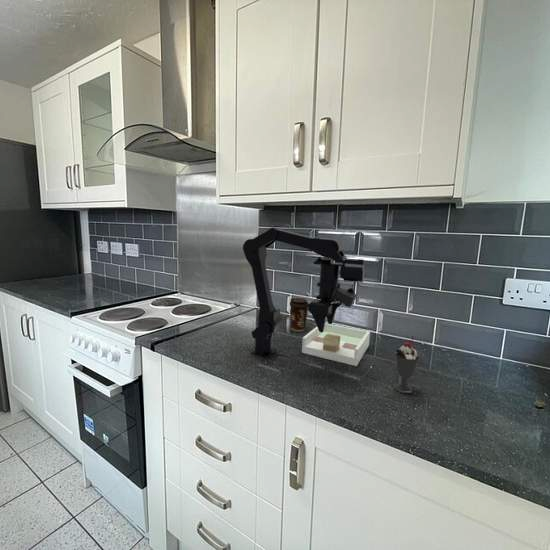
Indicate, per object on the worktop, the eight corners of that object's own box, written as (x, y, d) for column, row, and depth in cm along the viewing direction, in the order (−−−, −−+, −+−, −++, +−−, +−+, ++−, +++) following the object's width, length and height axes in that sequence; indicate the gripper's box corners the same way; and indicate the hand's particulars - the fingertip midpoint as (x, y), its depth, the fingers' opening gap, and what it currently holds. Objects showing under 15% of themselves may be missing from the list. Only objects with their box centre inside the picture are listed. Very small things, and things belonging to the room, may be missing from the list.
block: (335, 352, 99) (336, 340, 98) (322, 349, 101) (323, 337, 100) (339, 348, 103) (340, 335, 102) (327, 345, 105) (327, 333, 104)
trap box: (356, 366, 95) (357, 349, 94) (301, 352, 104) (302, 337, 103) (368, 345, 112) (370, 331, 112) (321, 335, 121) (322, 322, 120)
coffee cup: (284, 326, 130) (285, 297, 128) (300, 324, 134) (302, 296, 132) (293, 333, 123) (295, 302, 121) (311, 330, 126) (312, 301, 124)
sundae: (415, 385, 84) (421, 335, 82) (417, 398, 78) (424, 344, 76) (390, 381, 86) (395, 331, 84) (390, 392, 80) (396, 340, 78)
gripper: (347, 287, 80) (343, 342, 82) (361, 278, 96) (357, 324, 99) (308, 282, 85) (305, 335, 87) (328, 274, 101) (325, 318, 104)
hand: (325, 327), depth 94 cm, fingers open, 9 cm apart
